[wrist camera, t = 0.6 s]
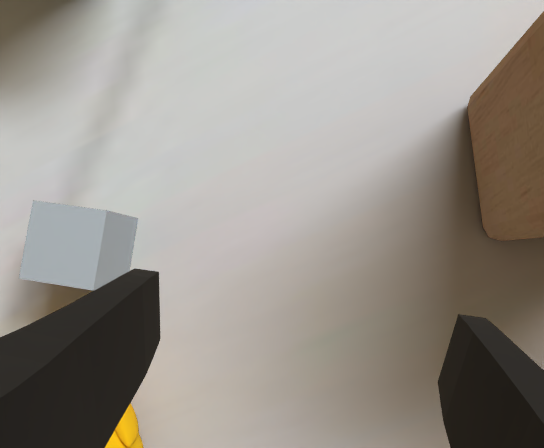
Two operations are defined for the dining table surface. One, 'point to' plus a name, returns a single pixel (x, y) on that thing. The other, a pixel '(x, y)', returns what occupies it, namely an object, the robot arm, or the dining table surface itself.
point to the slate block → (77, 245)
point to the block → (511, 141)
